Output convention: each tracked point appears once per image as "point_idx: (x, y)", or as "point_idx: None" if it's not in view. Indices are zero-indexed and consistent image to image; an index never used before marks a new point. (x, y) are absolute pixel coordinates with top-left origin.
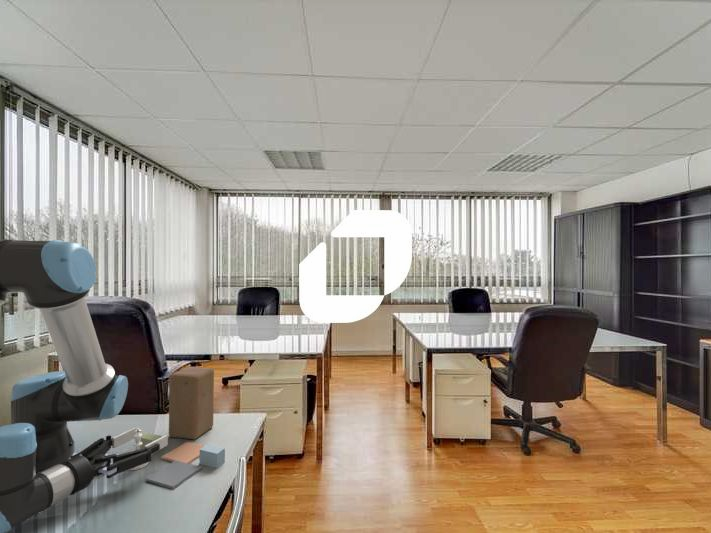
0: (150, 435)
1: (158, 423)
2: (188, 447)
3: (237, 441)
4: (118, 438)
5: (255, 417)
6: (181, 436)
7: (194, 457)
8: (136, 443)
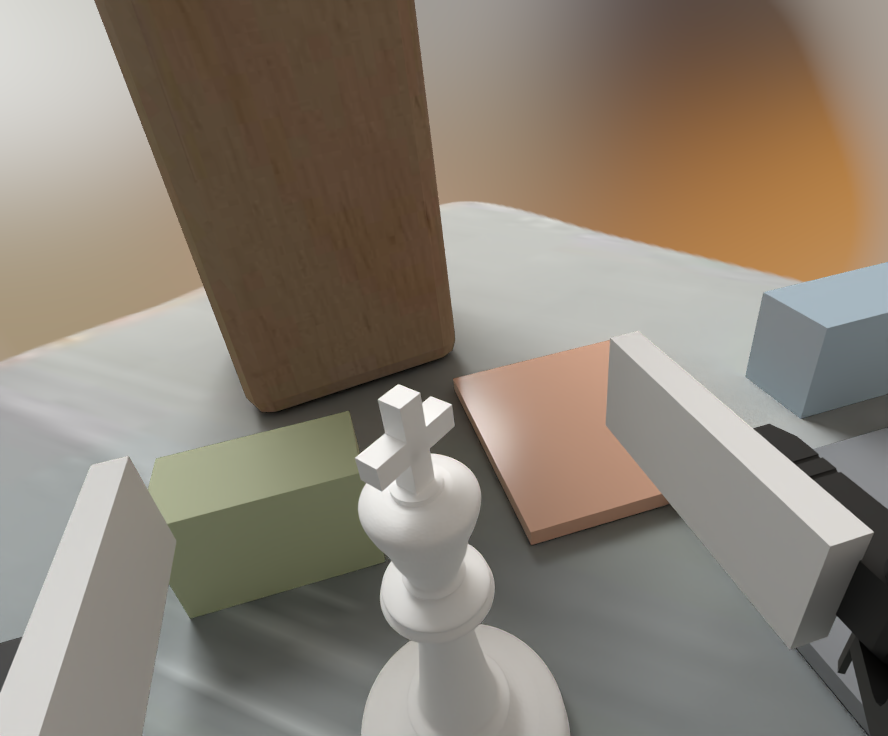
0: (245, 456)
1: (35, 406)
2: (538, 391)
3: (642, 271)
4: (68, 732)
5: (472, 208)
6: (363, 375)
7: None
8: (445, 592)
